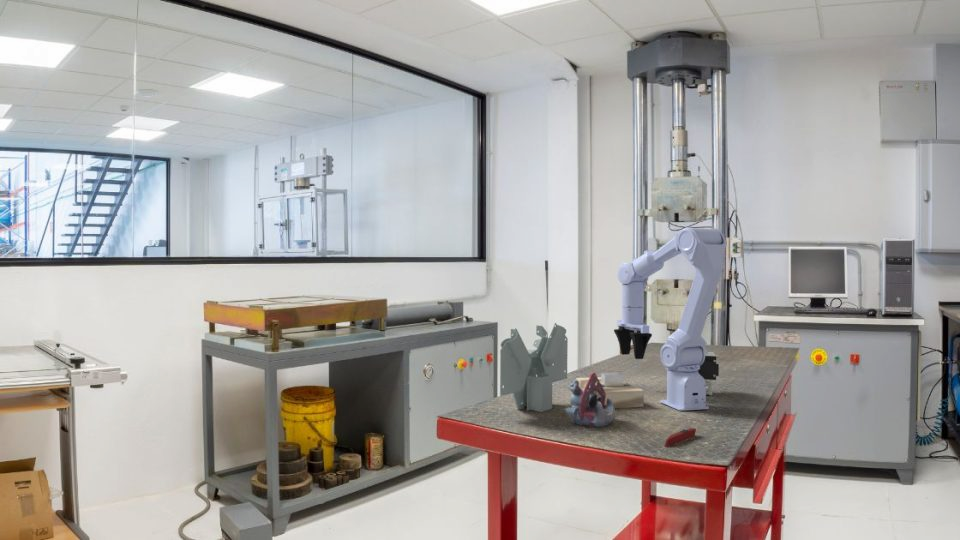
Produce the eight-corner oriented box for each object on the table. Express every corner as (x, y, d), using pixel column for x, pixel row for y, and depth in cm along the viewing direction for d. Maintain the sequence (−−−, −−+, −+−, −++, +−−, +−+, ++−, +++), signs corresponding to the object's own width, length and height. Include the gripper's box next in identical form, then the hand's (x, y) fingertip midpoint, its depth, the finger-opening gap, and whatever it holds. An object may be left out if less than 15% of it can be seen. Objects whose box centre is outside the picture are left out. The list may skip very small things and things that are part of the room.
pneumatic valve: (697, 397, 160) (697, 352, 159) (695, 388, 171) (695, 346, 171) (719, 399, 158) (720, 353, 158) (716, 390, 169) (716, 347, 169)
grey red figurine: (609, 421, 127) (578, 371, 131) (571, 445, 132) (543, 396, 136) (632, 411, 135) (603, 364, 140) (596, 434, 141) (569, 388, 145)
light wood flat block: (643, 406, 150) (643, 390, 150) (606, 408, 147) (606, 392, 147) (610, 391, 167) (610, 376, 167) (576, 392, 165) (576, 378, 165)
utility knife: (692, 435, 126) (692, 425, 126) (697, 436, 125) (697, 426, 125) (662, 447, 118) (662, 436, 118) (667, 448, 117) (667, 438, 117)
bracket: (554, 396, 161) (555, 320, 160) (578, 400, 156) (578, 322, 156) (487, 416, 140) (487, 328, 139) (511, 421, 135) (512, 331, 135)
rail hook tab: (623, 402, 155) (623, 374, 154) (604, 402, 154) (605, 375, 153) (619, 399, 157) (619, 372, 157) (600, 400, 156) (601, 373, 156)
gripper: (607, 305, 173) (606, 353, 174) (632, 309, 159) (631, 361, 159) (629, 304, 175) (629, 352, 175) (656, 309, 161) (656, 360, 161)
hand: (632, 356), depth 168 cm, fingers open, 7 cm apart
